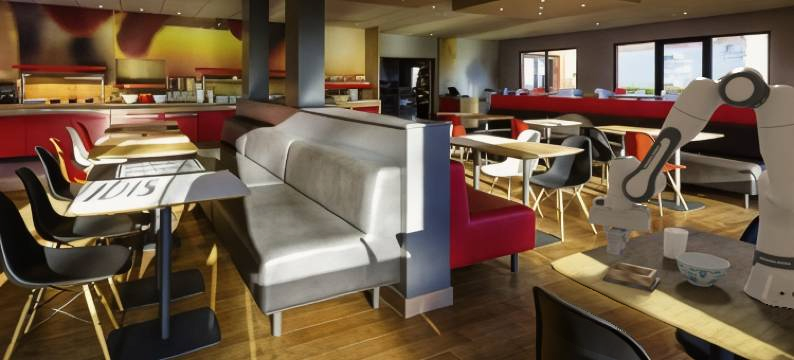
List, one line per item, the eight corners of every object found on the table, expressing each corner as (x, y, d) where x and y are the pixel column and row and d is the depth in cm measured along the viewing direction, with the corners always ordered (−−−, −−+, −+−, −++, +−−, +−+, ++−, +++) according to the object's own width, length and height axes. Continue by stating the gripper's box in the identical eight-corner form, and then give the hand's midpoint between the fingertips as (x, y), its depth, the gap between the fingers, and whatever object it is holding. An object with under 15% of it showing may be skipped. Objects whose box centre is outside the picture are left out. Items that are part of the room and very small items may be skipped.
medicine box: (619, 255, 183) (621, 231, 181) (606, 253, 185) (608, 229, 184) (625, 250, 189) (627, 226, 187) (612, 247, 191) (614, 224, 190)
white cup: (689, 260, 191) (692, 233, 189) (667, 260, 191) (670, 233, 189) (678, 252, 199) (681, 227, 197) (657, 252, 199) (660, 227, 197)
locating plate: (660, 281, 172) (661, 269, 171) (651, 291, 164) (653, 279, 163) (612, 270, 181) (613, 259, 180) (602, 280, 173) (603, 269, 172)
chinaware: (708, 273, 178) (710, 252, 177) (737, 291, 164) (741, 268, 162) (664, 274, 178) (667, 252, 176) (690, 292, 163) (693, 269, 162)
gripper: (654, 204, 179) (650, 243, 182) (593, 196, 192) (591, 232, 195) (649, 208, 175) (646, 247, 177) (588, 199, 187) (585, 236, 190)
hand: (617, 239), depth 186 cm, fingers closed on medicine box, 4 cm apart
